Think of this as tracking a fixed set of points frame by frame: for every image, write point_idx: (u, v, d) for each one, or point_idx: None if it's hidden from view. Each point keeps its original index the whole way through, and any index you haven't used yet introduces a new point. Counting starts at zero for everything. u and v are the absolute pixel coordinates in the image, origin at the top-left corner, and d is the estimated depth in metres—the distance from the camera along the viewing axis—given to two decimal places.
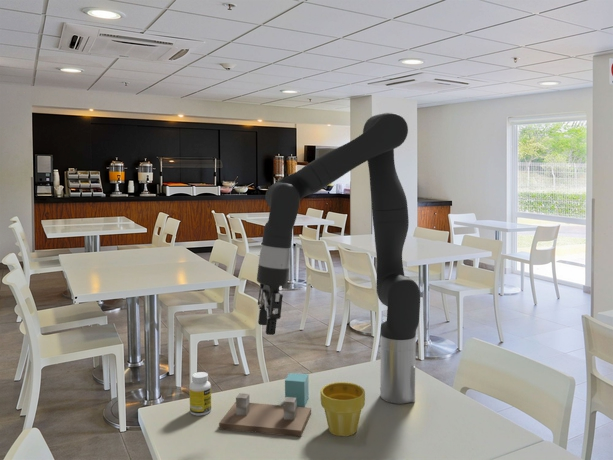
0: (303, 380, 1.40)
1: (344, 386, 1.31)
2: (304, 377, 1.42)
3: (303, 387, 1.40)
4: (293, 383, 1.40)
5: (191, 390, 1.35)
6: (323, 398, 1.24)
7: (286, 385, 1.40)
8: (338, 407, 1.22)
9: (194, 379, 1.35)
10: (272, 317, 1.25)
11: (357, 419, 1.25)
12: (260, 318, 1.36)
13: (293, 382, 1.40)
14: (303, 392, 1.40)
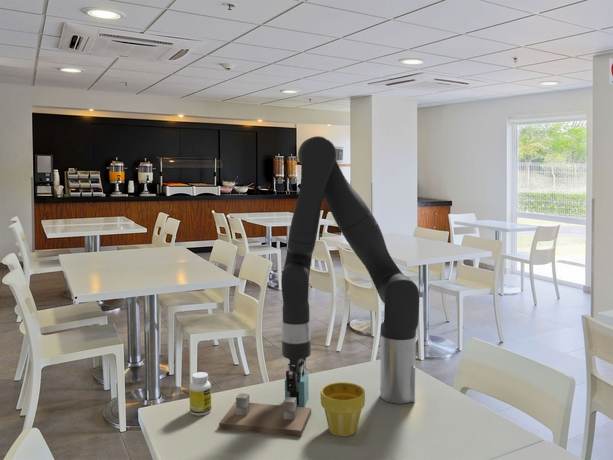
0: (303, 380, 1.40)
1: (344, 386, 1.31)
2: (304, 377, 1.42)
3: (302, 387, 1.39)
4: None
5: (191, 390, 1.35)
6: (323, 399, 1.24)
7: (286, 385, 1.40)
8: (338, 407, 1.22)
9: (194, 379, 1.35)
10: (289, 390, 1.37)
11: (357, 419, 1.25)
12: None
13: None
14: (303, 392, 1.40)
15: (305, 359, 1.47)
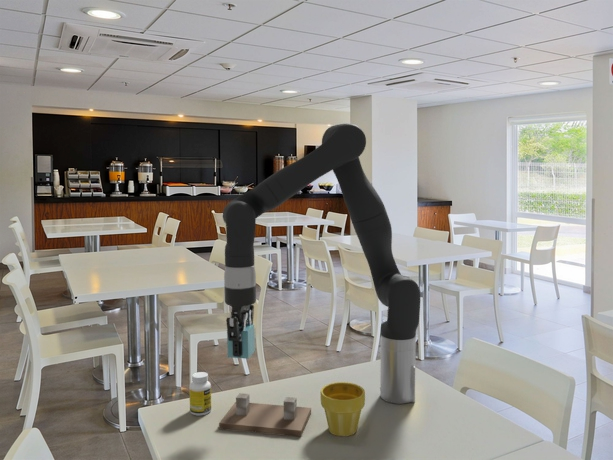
0: (247, 329, 1.29)
1: (344, 386, 1.31)
2: (249, 327, 1.31)
3: (246, 337, 1.28)
4: None
5: (191, 390, 1.35)
6: (323, 399, 1.24)
7: None
8: (338, 407, 1.22)
9: (194, 379, 1.35)
10: (230, 339, 1.26)
11: (357, 419, 1.25)
12: None
13: None
14: (246, 342, 1.28)
15: (252, 309, 1.36)
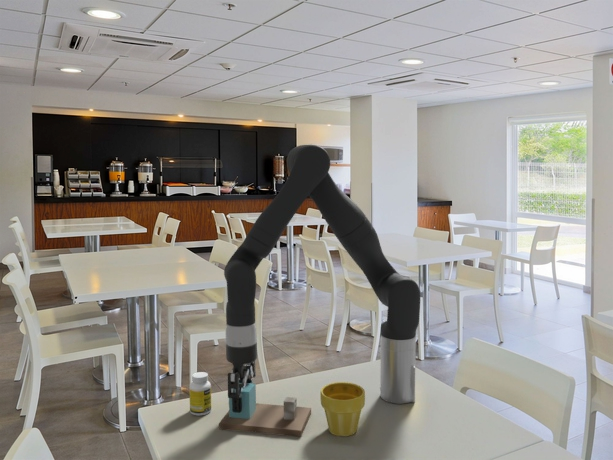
0: (248, 390, 1.30)
1: (344, 386, 1.31)
2: (250, 387, 1.32)
3: (247, 397, 1.30)
4: None
5: (191, 390, 1.35)
6: (323, 398, 1.24)
7: None
8: (338, 407, 1.22)
9: (194, 379, 1.35)
10: (230, 397, 1.26)
11: (357, 419, 1.25)
12: None
13: None
14: (248, 403, 1.30)
15: (253, 360, 1.38)
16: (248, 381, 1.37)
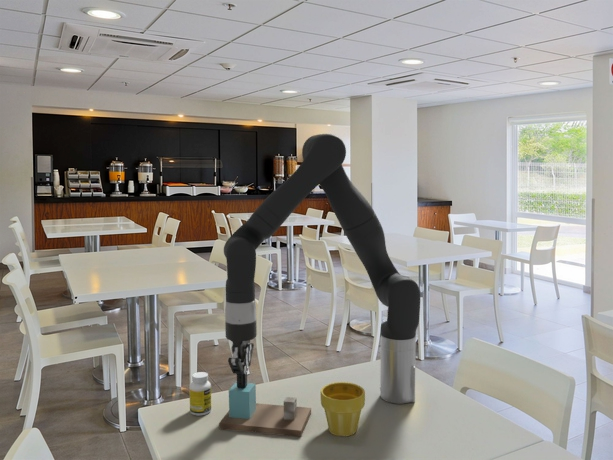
0: (248, 390, 1.30)
1: (344, 386, 1.31)
2: (250, 387, 1.32)
3: (247, 397, 1.30)
4: (238, 393, 1.30)
5: (191, 390, 1.35)
6: (323, 398, 1.24)
7: (230, 395, 1.31)
8: (338, 407, 1.22)
9: (194, 379, 1.35)
10: (235, 372, 1.29)
11: (357, 419, 1.25)
12: None
13: (237, 392, 1.30)
14: (248, 403, 1.30)
15: (252, 347, 1.36)
16: None
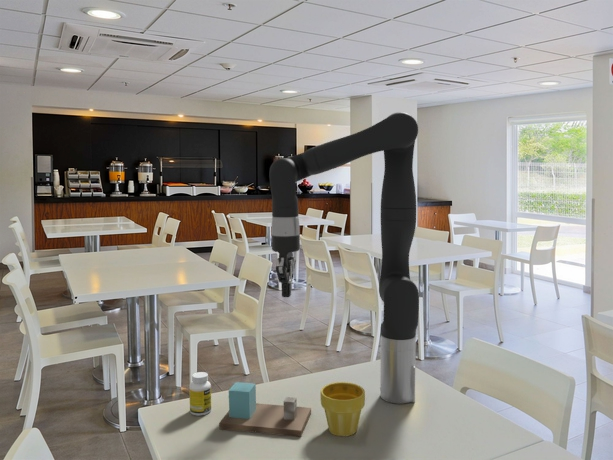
0: (248, 390, 1.30)
1: (344, 386, 1.31)
2: (250, 387, 1.32)
3: (247, 397, 1.30)
4: (238, 393, 1.30)
5: (191, 390, 1.35)
6: (323, 399, 1.24)
7: (230, 395, 1.31)
8: (338, 407, 1.22)
9: (194, 379, 1.35)
10: (281, 281, 1.43)
11: (357, 419, 1.25)
12: None
13: (237, 392, 1.30)
14: (248, 403, 1.30)
15: (294, 262, 1.50)
16: None
